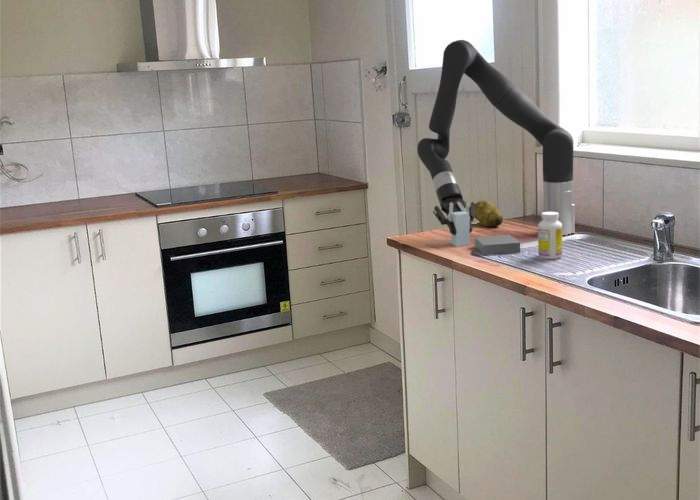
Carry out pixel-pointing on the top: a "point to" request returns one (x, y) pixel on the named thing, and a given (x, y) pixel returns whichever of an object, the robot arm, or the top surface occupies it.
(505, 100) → the robot arm
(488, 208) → the potato
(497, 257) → the top surface
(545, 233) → the supplement bottle
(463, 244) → the block
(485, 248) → the block
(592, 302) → the top surface
